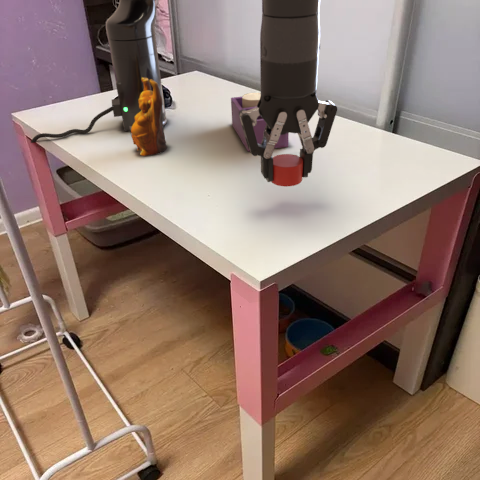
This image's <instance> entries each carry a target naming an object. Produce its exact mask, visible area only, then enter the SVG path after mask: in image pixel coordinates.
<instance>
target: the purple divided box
mask: <svg viewBox="0 0 480 480" xmlns="http://www.w3.org/2000/svg"><path fill="white" fill-rule="evenodd" d="M230 107H231V126H232V127H233V129H234V131H235V132H236V135H238V137H239V139H240V140H241V142H242V144H243V146H244V148H245V149H246V151H247V152H248V153H249V152H250V153H251V151H250V150H249V148H248V146H247V142H246V139H245V136H244V132H243V129H242V125H241V122H240V118H239V111H240V110H242V109H244V110H246V111H247V110H250V109H252V108H255V107H248V108H242V96H236V97H235V96H234V97H230ZM265 126H266V122H265V121H264V120H263V118H262V117H261V116H258V118H257V124H256V125H255V126H254V127H253V128H254V132H255V136H256V139H257V143H258V144H261V142H262V139H263V133H264V129H265ZM289 134H290V132H289V133H287V134H284V135H280V137H279V139H278V142H277V144H276V145H275V147H274V149H282V148H288V147H289Z"/></svg>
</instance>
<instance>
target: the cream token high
mask: <svg viewBox="0 0 480 480" xmlns="http://www.w3.org/2000/svg"><path fill="white" fill-rule="evenodd" d="M260 96H261V92H249V93H245V94H243V95H242V96H241V97H242V108H248V107H257V104H258V102H259V100H260Z"/></svg>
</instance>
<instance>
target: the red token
mask: <svg viewBox="0 0 480 480" xmlns="http://www.w3.org/2000/svg"><path fill="white" fill-rule="evenodd" d="M272 157H273V182H271V183H272V184H273V185H275V186H278V187H294V186H297V185H300V183H302V181H303V177H302V173H303V159H302V158H301V157H300V155H297V154H292V153H283V154H276V155H274V156H272Z"/></svg>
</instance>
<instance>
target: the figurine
mask: <svg viewBox="0 0 480 480" xmlns="http://www.w3.org/2000/svg"><path fill="white" fill-rule="evenodd" d="M141 79H142V82H143V83H144V91H143V92H142V93H141V94H140V98H139V108H140V109H141V111H140V112H139V113H138V114H137V115H136V116H135V122H134V124H133V125H132V128H131V131H130V133H131V139H132V142H133V145H136V147H137V149H136V151H137V152H140V153H139V155H140V156H143V157H147V156H155V155H159V154H161V153H164V152H165V151H167V148H168V146H167V140H166V135H165V128H164V126H163V108H162V96H161V94H160V89H159V86H158V83H157V82H155V81H154V80H152V79H150V81H149V79H148V78H141ZM149 82H150V83H149ZM150 84H151V85H152V87H153V91H152V90H151V86H150Z"/></svg>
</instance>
